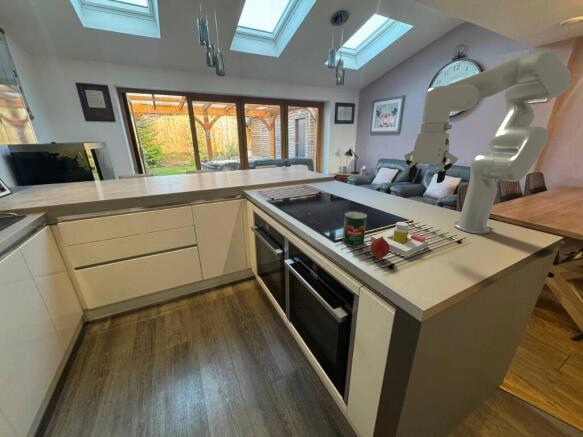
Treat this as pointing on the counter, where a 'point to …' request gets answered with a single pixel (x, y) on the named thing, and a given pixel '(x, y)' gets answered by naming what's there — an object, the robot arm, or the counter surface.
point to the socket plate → (407, 248)
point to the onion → (379, 247)
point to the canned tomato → (354, 228)
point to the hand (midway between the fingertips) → (425, 180)
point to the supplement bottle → (400, 232)
